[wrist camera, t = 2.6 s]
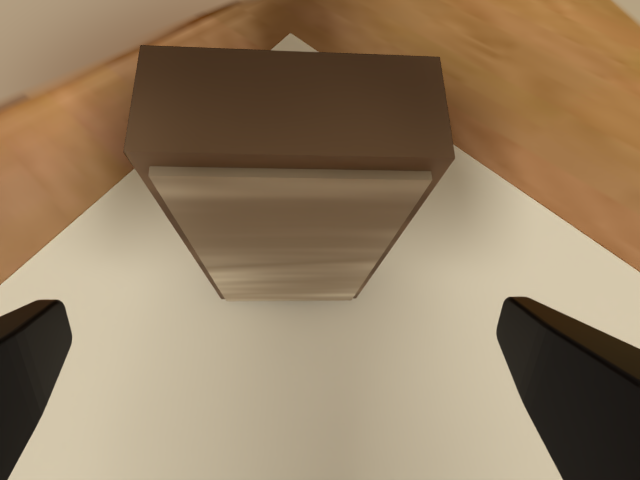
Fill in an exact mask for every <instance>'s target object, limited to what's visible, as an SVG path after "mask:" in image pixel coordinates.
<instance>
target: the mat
mask: <svg viewBox="0 0 640 480" xmlns="http://www.w3.org/2000/svg"><path fill="white" fill-rule="evenodd" d="M271 50H275V51H301V52H318V51H316V50H315V49H313V48H312V47H310V46H309V45H308V44H306V43H305V42H303V41H302V40H300V39H299V38H297V37H296V36H294V35H293V34H291V33H290V34H289V35H287V36H286V37H285V38H284V39H283V40H282V41H281V42H279V43H278V44H277V45H276V46H275V47H274V48H272V49H271ZM453 146H454V153H455V159H454V161H453V162H452V164H451V165H450V166H449V168H448V169H447V171H446V172H445V173H444V175H443V176H442V178H441V179H440V180H439V182H438V183H437V185H436V186H435V188H434V189H433V190H432V192H431V193H430V195H429V196H428V197H427V199H426V200H425V202H424V203H423V204H422V206H421V207H420V209H419V210H418V212H417V213H416V214H415V216H414V217H413V219H412V220H411V221H410V223H409V224H408V226H407V227H406V229H405V230H404V231H403V233H402V234H401V236H400V237H399V238H398V240H397V241H396V243H395V244H394V245H393V247H392V248H391V250H390V251H389V253H388V254H387V255H386V257H385V258H384V260H383V261H382V262H381V264H380V265H379V267H378V268H377V270H376V271H375V272H374V274H373V275H372V277H371V278H370V279H369V281H368V282H367V284H366V285H365V286H364V288H363V289H362V291H361V292H360V294H359V295H358V296H357V298H353V299H352V300H345V301H226V300H225V299H221V298H220V297H219V295H218V294H217V292H216V291H215V289H214V288H213V286H212V284H211V283H210V281H209V280H208V278H207V277H206V275H205V274H204V272H203V271H202V269H201V268H200V266H199V265H198V263H197V262H196V260H195V259H194V257H193V256H192V254H191V253H190V251H189V250H188V248H187V247H186V245H185V244H184V242H183V241H182V239H181V238H180V236H179V235H178V233H177V232H176V230H175V229H174V227H173V226H172V224H171V223H170V221H169V220H168V218H167V217H166V215H165V214H164V212H163V210H162V209H161V207H160V206H159V204H158V203H157V201H156V200H155V198H154V197H153V195H152V194H151V192H150V191H149V189H148V188H147V186H146V185H145V183H144V182H143V180H142V179H141V177H140V176H139V174H138V173H137V171H136V170H135V168H134V169H133V170H132V171H131V172H130V173H129V174H128V175H126V176H125V177H124V178H123V179H122V180H121V181H120V182H118V183H117V184H116V185H115V186H114V187H113V188H111V189H110V190H109V191H108V192H107V193H106V194H105V195H103V196H102V197H101V198H100V199H99V200H98V201H97V202H95V203H94V204H93V205H92V206H91V207H90V208H88V209H87V210H86V211H85V212H84V213H83V214H82V215H80V216H79V217H78V218H77V219H76V220H75V221H74V222H72V223H71V224H70V225H69V226H68V227H67V228H65V229H64V230H63V231H62V232H61V233H60V234H59V235H57V236H56V237H55V238H54V239H53V240H52V241H51V242H49V243H48V244H47V245H46V246H45V247H44V248H42V249H41V250H40V251H39V252H38V253H37V254H36V255H34V256H33V257H32V258H31V259H30V260H29V261H27V262H26V263H25V264H24V265H23V266H22V267H21V268H19V269H18V270H17V271H16V272H15V273H14V274H13V275H11V276H10V277H9V278H8V279H7V280H6V281H4V282H3V283H2V284H1V285H0V316H2V315H4V314H7V313H9V312H11V311H13V310H16V309H18V308H20V307H22V306H25V305H27V304H29V303H31V302H34V301H36V300H43V299H57V300H60V301H62V302H63V304H64V305H65V308H66V312H67V316H68V320H69V324H70V327H71V331H72V344H71V347H70V350H69V352H68V355H67V357H66V359H65V362H64V364H63V367H62V369H61V372H60V374H59V377H58V379H57V381H56V384H55V386H54V389H53V391H52V394H51V396H50V399H49V401H48V403H47V406H46V408H45V410H44V412H43V415H42V417H41V419H40V421H39V423H38V425H37V426H36V428H35V430H34V432H33V434H32V436H31V438H30V439H29V441H28V443H27V445H26V447H25V449H24V451H23V452H22V454H21V456H20V458H19V460H18V462H17V463H16V465H15V467H14V469H13V471H12V473H11V475H10V476H9V478H8V480H563V479H562V477H561V475H560V473H559V472H558V470H557V468H556V466H555V464H554V462H553V460H552V458H551V456H550V454H549V453H548V451H547V449H546V447H545V445H544V443H543V441H542V439H541V437H540V435H539V433H538V432H537V430H536V428H535V426H534V424H533V422H532V420H531V418H530V416H529V414H528V412H527V410H526V408H525V406H524V404H523V402H522V400H521V398H520V395H519V393H518V391H517V388H516V386H515V383H514V381H513V378H512V376H511V373H510V370H509V368H508V365H507V363H506V360H505V358H504V355H503V353H502V350H501V348H500V345H499V343H498V340H497V336H496V329H497V324H498V320H499V317H500V313H501V309H502V305H503V302H504V300H505V299H506V298H507V297H515V296H524V297H529V298H531V299H533V300H535V301H537V302H539V303H542V304H544V305H546V306H548V307H550V308H552V309H555V310H557V311H559V312H561V313H563V314H565V315H568V316H570V317H572V318H574V319H576V320H578V321H581V322H583V323H585V324H587V325H589V326H591V327H594V328H596V329H598V330H600V331H602V332H605V333H607V334H609V335H611V336H613V337H615V338H618V339H620V340H622V341H624V342H626V343H628V344H631V345H633V346H635V347H637V348H639V349H640V272H639V271H637V270H636V269H634V268H633V267H631V266H630V265H628V264H627V263H625V262H624V261H622V260H621V259H620V258H618V257H617V256H615V255H614V254H612V253H611V252H609V251H608V250H606V249H605V248H604V247H602V246H601V245H599V244H598V243H596V242H595V241H593V240H592V239H590V238H589V237H587V236H586V235H585V234H583V233H582V232H580V231H579V230H577V229H576V228H574V227H573V226H571V225H570V224H569V223H567V222H566V221H564V220H563V219H561V218H560V217H558V216H557V215H555V214H554V213H552V212H551V211H550V210H548V209H547V208H545V207H544V206H542V205H541V204H539V203H538V202H536V201H535V200H534V199H532V198H531V197H529V196H528V195H526V194H525V193H523V192H522V191H520V190H519V189H517V188H516V187H515V186H513V185H512V184H510V183H509V182H507V181H506V180H504V179H503V178H501V177H500V176H499V175H497V174H496V173H494V172H493V171H491V170H490V169H488V168H487V167H485V166H484V165H482V164H481V163H480V162H478V161H477V160H475V159H474V158H472V157H471V156H469V155H468V154H466V153H465V152H464V151H462V150H461V149H459V148H458V147H456V146H455V145H453Z"/></svg>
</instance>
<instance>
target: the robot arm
mask: <svg viewBox="0 0 640 480" xmlns="http://www.w3.org/2000/svg"><path fill="white" fill-rule="evenodd" d="M496 336H497V340H498V343H499V345H500V348H501V350H502V353H503V355H504V358H505V360H506V363H507V365H508V368H509V370H510V373H511V376H512V378H513V381H514V383H515V386H516V388H517V391H518V393H519V395H520V398H521V400H522V402H523V404H524V406H525V408H526V410H527V412H528V414H529V416H530V418H531V420H532V422H533V424H534V426H535V428H536V430H537V432H538V433H539V435H540V437H541V439H542V441H543V443H544V445H545V447H546V449H547V451H548V453H549V454H550V456H551V458H552V460H553V462H554V464H555V466H556V468H557V470H558V472H559V473H560V475H561V477H562V479H563V480H640V349H639V348H637V347H635V346H633V345H631V344H628V343H626V342H624V341H622V340H620V339H618V338H615V337H613V336H611V335H609V334H607V333H605V332H602V331H600V330H598V329H596V328H594V327H591V326H589V325H587V324H585V323H583V322H581V321H578V320H576V319H574V318H572V317H570V316H568V315H565V314H563V313H561V312H559V311H557V310H555V309H552V308H550V307H548V306H546V305H544V304H542V303H539V302H537V301H535V300H533V299H531V298H529V297H524V296H515V297H507V298H506V299H505V300H504V302H503V305H502V309H501V313H500V317H499V320H498V324H497V329H496ZM71 344H72V331H71V327H70V324H69V320H68V316H67V312H66V308H65V305H64V304H63V302H62V301H60V300H57V299H43V300H36V301H34V302H31V303H29V304H27V305H25V306H22V307H20V308H18V309H16V310H13V311H11V312H9V313H7V314H4V315H2V316H0V480H8V478H9V476H10V475H11V473H12V471H13V469H14V467H15V465H16V463H17V462H18V460H19V458H20V456H21V454H22V452H23V451H24V449H25V447H26V445H27V443H28V441H29V439H30V438H31V436H32V434H33V432H34V430H35V428H36V426H37V425H38V423H39V421H40V419H41V417H42V415H43V412H44V410H45V408H46V406H47V403H48V401H49V399H50V396H51V394H52V391H53V389H54V386H55V384H56V381H57V379H58V377H59V374H60V372H61V369H62V367H63V364H64V362H65V359H66V357H67V355H68V352H69V350H70V347H71Z"/></svg>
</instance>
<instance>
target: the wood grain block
mask: <svg viewBox="0 0 640 480" xmlns="http://www.w3.org/2000/svg"><path fill="white" fill-rule="evenodd" d="M123 152H124V153H125V155H126V156H127V158H128V159H129V161H130V162H131V164H132V165H133V167H134V168H135V170H136V171H137V173H138V174H139V176H140V177H141V179H142V180H143V182H144V183H145V185H146V186H147V188H148V189H149V191H150V192H151V194H152V195H153V197H154V198H155V200H156V201H157V203H158V204H159V206H160V207H161V209H162V210H163V212H164V214H165V215H166V217H167V218H168V220H169V221H170V223H171V224H172V226H173V227H174V229H175V230H176V232H177V233H178V235H179V236H180V238H181V239H182V241H183V242H184V244H185V245H186V247H187V248H188V250H189V251H190V253H191V254H192V256H193V257H194V259H195V260H196V262H197V263H198V265H199V266H200V268H201V269H202V271H203V272H204V274H205V275H206V277H207V278H208V280H209V281H210V283H211V284H212V286H213V288H214V289H215V291H216V292H217V294H218V295H219V297H220V298H221V299H225V300H226V301H345V300H352V299H353V298H357V296H358V295H359V294H360V292H361V291H362V289H363V288H364V286H365V285H366V284H367V282H368V281H369V279H370V278H371V277H372V275H373V274H374V272H375V271H376V270H377V268H378V267H379V265H380V264H381V262H382V261H383V260H384V258H385V257H386V255H387V254H388V253H389V251H390V250H391V248H392V247H393V245H394V244H395V243H396V241H397V240H398V238H399V237H400V236H401V234H402V233H403V231H404V230H405V229H406V227H407V226H408V224H409V223H410V221H411V220H412V219H413V217H414V216H415V214H416V213H417V212H418V210H419V209H420V207H421V206H422V204H423V203H424V202H425V200H426V199H427V197H428V196H429V195H430V193H431V192H432V190H433V189H434V188H435V186H436V185H437V183H438V182H439V180H440V179H441V178H442V176H443V175H444V173H445V172H446V171H447V169H448V168H449V166H450V165H451V164H452V162H453V161H454V159H455V153H454V146H453V140H452V133H451V127H450V120H449V114H448V107H447V101H446V94H445V88H444V81H443V75H442V68H441V62H440V57H429V56H403V55H378V54H352V53H326V52H301V51H275V50H250V49H224V48H199V47H173V46H147V45H140V51H139V57H138V63H137V70H136V76H135V82H134V88H133V95H132V101H131V107H130V113H129V120H128V126H127V132H126V139H125V145H124V151H123Z"/></svg>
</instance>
